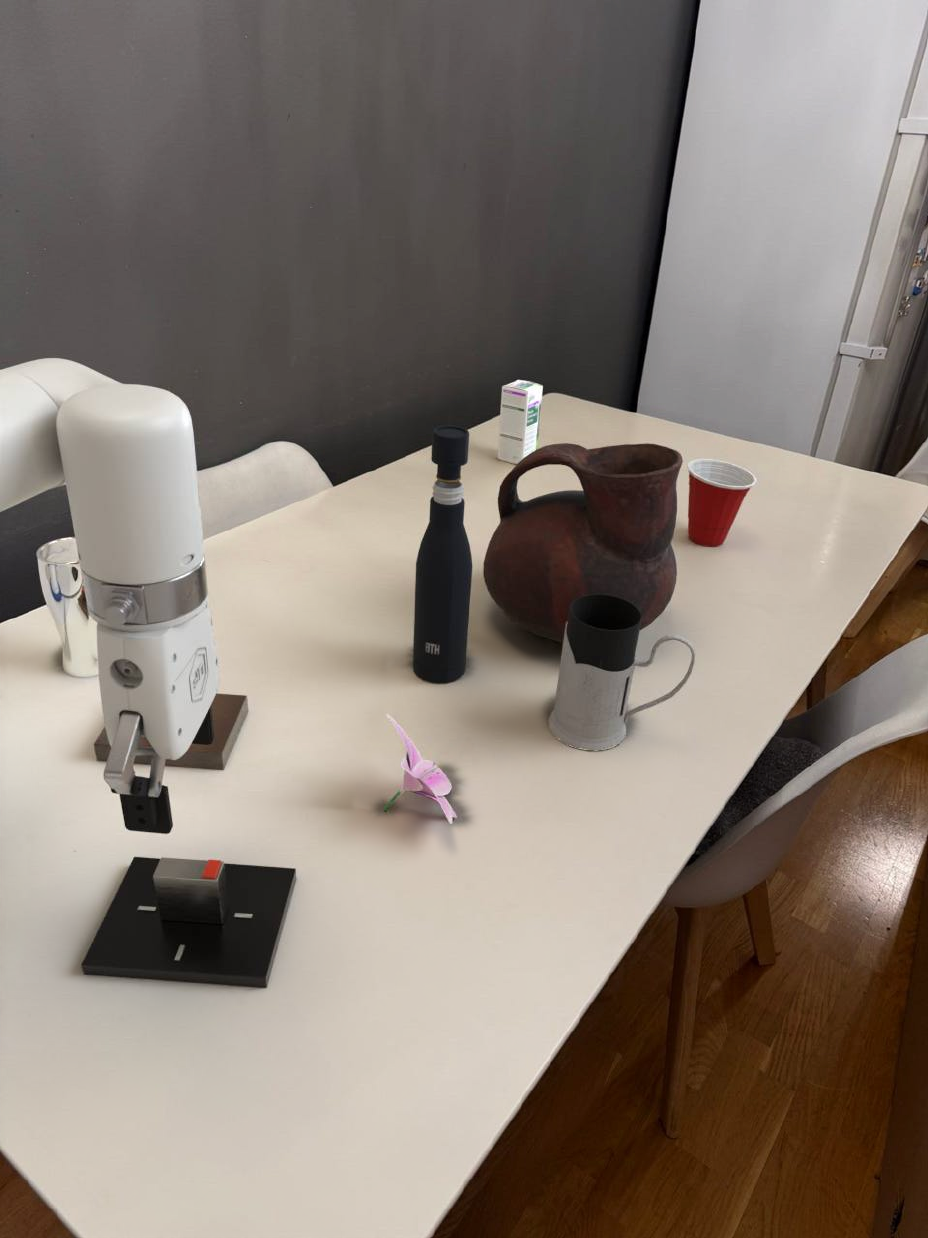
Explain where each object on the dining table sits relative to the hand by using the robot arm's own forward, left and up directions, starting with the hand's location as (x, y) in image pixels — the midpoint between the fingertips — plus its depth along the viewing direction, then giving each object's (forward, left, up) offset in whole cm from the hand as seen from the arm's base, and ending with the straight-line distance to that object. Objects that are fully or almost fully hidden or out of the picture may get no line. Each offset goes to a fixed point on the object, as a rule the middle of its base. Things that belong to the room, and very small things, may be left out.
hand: (173, 782), depth 66 cm
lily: (+18, +15, -15) cm, 28 cm away
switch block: (-9, +24, -15) cm, 29 cm away
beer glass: (-23, +36, -15) cm, 45 cm away
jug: (+35, +54, -15) cm, 66 cm away
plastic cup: (+59, +83, -15) cm, 102 cm away
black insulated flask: (+18, +40, -15) cm, 46 cm away
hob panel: (+1, -1, -15) cm, 15 cm away
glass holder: (+38, +30, -15) cm, 50 cm away
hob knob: (+1, -1, -12) cm, 12 cm away
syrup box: (+28, +114, -15) cm, 118 cm away
